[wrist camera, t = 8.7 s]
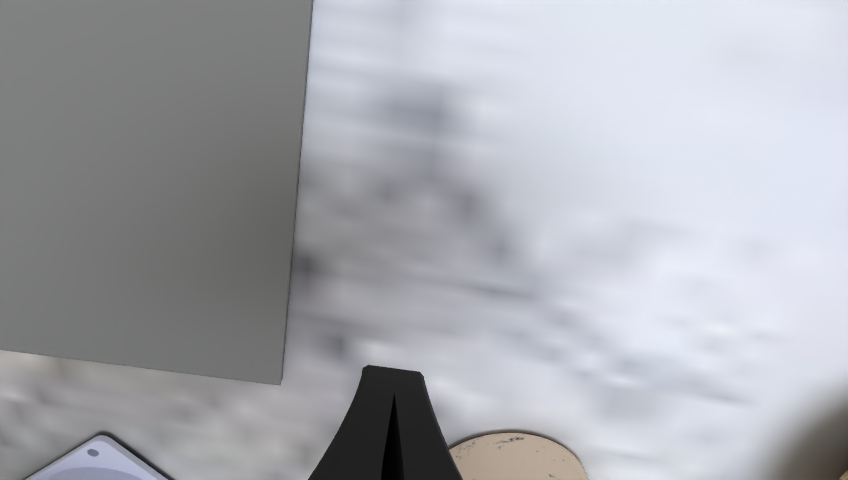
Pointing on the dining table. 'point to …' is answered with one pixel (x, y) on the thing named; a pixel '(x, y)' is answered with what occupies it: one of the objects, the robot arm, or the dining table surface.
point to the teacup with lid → (515, 459)
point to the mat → (151, 180)
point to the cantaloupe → (844, 476)
